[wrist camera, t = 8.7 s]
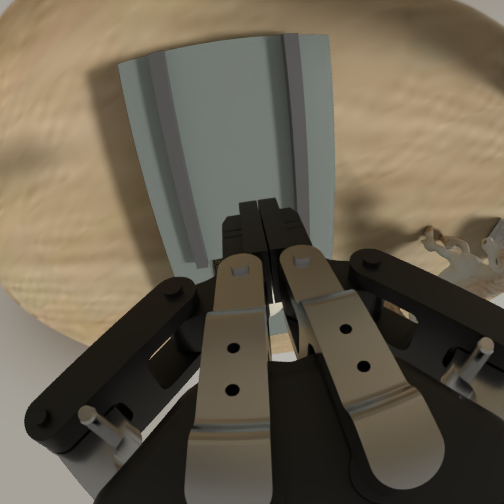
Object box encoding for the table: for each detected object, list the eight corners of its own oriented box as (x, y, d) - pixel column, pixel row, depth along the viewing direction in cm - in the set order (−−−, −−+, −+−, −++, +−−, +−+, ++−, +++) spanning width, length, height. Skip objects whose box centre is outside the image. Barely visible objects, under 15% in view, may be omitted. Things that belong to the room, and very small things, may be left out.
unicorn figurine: (472, 187, 29) (544, 248, 18) (402, 303, 40) (442, 376, 29) (439, 167, 27) (523, 232, 17) (365, 298, 38) (405, 382, 27)
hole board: (313, 37, 20) (333, 33, 16) (319, 304, 37) (328, 331, 33) (130, 63, 19) (113, 64, 16) (200, 323, 37) (200, 352, 33)
